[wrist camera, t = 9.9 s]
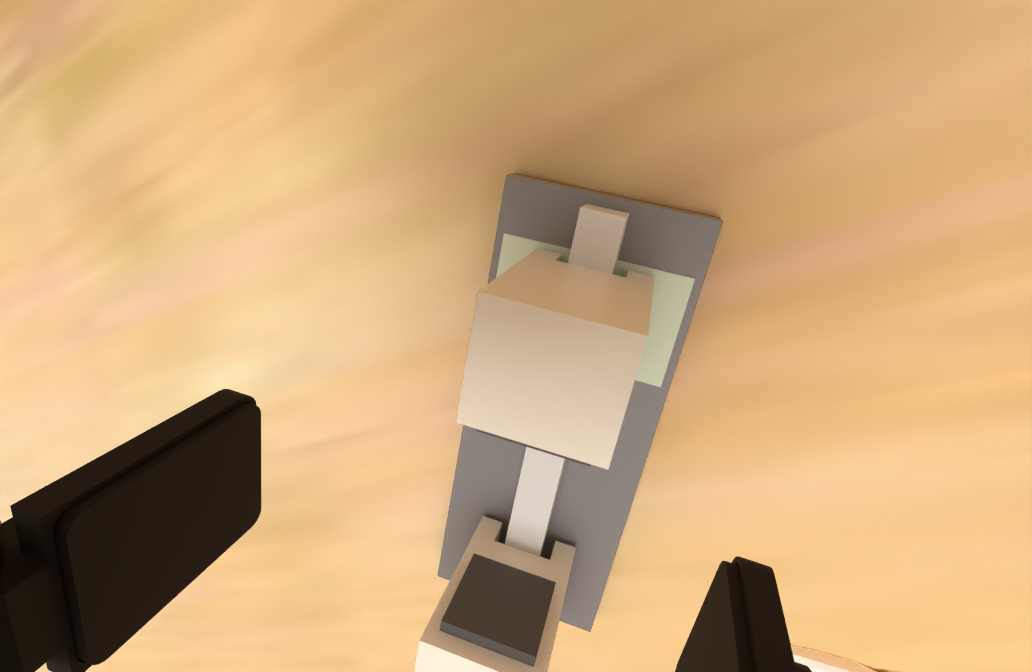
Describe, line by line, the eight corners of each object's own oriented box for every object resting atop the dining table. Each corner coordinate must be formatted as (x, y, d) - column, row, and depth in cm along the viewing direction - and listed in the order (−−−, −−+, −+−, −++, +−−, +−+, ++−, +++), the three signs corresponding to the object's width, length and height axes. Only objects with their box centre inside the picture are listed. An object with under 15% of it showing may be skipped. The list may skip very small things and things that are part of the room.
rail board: (514, 173, 27) (426, 184, 17) (719, 218, 25) (753, 259, 15) (446, 559, 36) (362, 712, 26) (593, 612, 34) (563, 798, 24)
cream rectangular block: (537, 248, 26) (478, 291, 18) (654, 276, 25) (648, 335, 17) (515, 354, 28) (453, 436, 20) (623, 384, 27) (604, 484, 19)
